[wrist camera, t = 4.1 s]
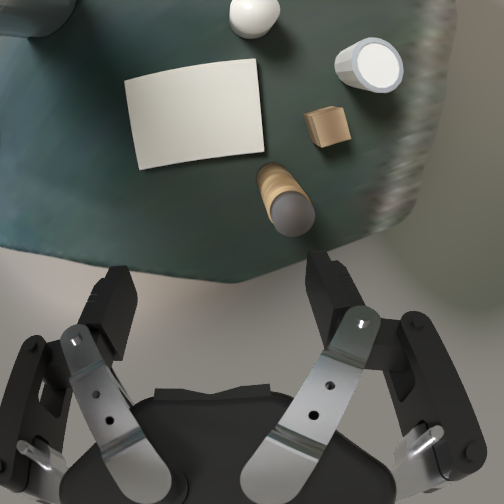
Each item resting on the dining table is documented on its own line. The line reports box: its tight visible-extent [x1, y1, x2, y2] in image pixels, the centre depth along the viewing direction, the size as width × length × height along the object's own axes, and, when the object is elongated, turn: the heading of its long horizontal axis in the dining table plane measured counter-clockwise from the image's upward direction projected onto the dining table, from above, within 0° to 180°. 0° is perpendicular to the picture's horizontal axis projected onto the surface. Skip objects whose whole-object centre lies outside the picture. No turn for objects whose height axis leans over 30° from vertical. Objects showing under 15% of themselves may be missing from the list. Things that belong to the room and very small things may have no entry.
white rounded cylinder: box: [229, 0, 280, 39], centre depth 25 cm, size 5×5×6 cm
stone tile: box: [124, 59, 264, 170], centre depth 32 cm, size 16×12×1 cm
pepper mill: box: [256, 163, 315, 237], centre depth 32 cm, size 4×4×13 cm
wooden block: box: [304, 106, 351, 148], centre depth 33 cm, size 4×4×4 cm
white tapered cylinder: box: [334, 38, 404, 93], centre depth 28 cm, size 7×7×7 cm
